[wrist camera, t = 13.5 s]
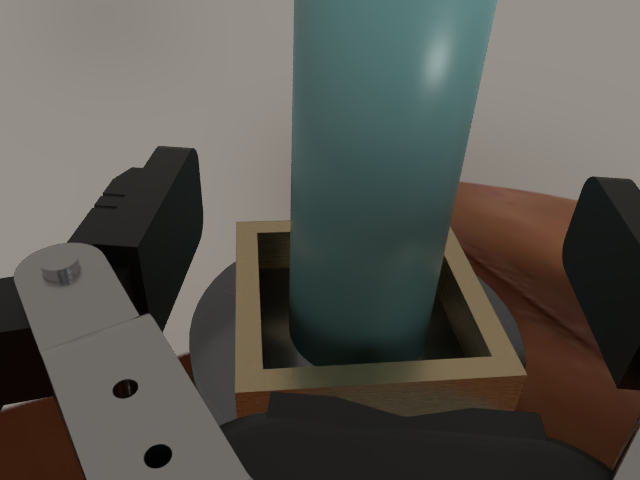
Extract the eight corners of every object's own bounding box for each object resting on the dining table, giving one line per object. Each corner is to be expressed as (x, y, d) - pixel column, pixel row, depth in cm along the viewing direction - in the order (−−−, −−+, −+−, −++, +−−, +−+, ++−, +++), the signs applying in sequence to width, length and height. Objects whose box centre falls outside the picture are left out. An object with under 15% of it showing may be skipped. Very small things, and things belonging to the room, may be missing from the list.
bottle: (408, 280, 24) (478, -129, 15) (442, 375, 19) (561, -111, 11) (285, 284, 23) (289, -138, 15) (293, 383, 19) (306, -121, 11)
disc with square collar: (445, 308, 30) (471, 194, 26) (545, 544, 20) (610, 418, 16) (207, 319, 28) (195, 200, 24) (190, 577, 19) (166, 449, 15)
